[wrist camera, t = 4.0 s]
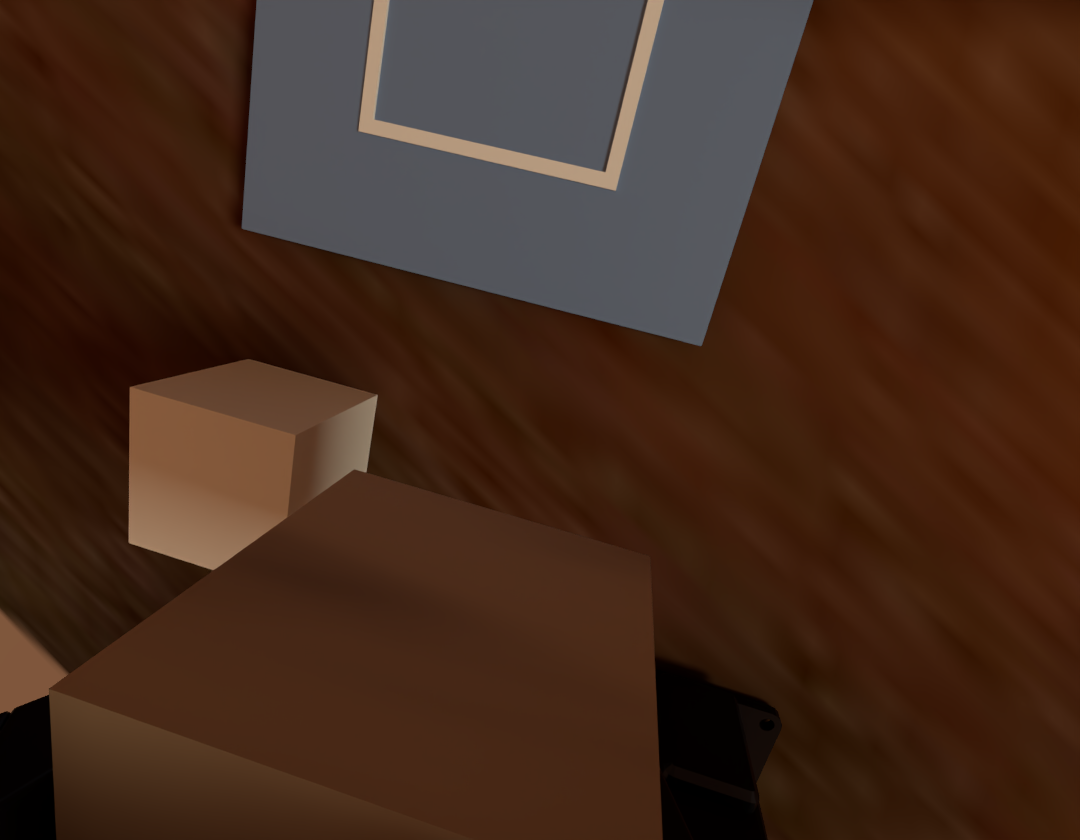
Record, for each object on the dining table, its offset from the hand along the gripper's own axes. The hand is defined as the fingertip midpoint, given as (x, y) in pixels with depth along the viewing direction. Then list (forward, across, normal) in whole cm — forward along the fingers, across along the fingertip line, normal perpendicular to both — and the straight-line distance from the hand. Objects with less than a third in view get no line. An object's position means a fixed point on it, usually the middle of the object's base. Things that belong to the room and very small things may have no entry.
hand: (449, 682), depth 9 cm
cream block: (+11, +9, +2) cm, 14 cm away
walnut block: (+1, 0, 0) cm, 1 cm away
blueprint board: (+11, +4, -12) cm, 17 cm away
